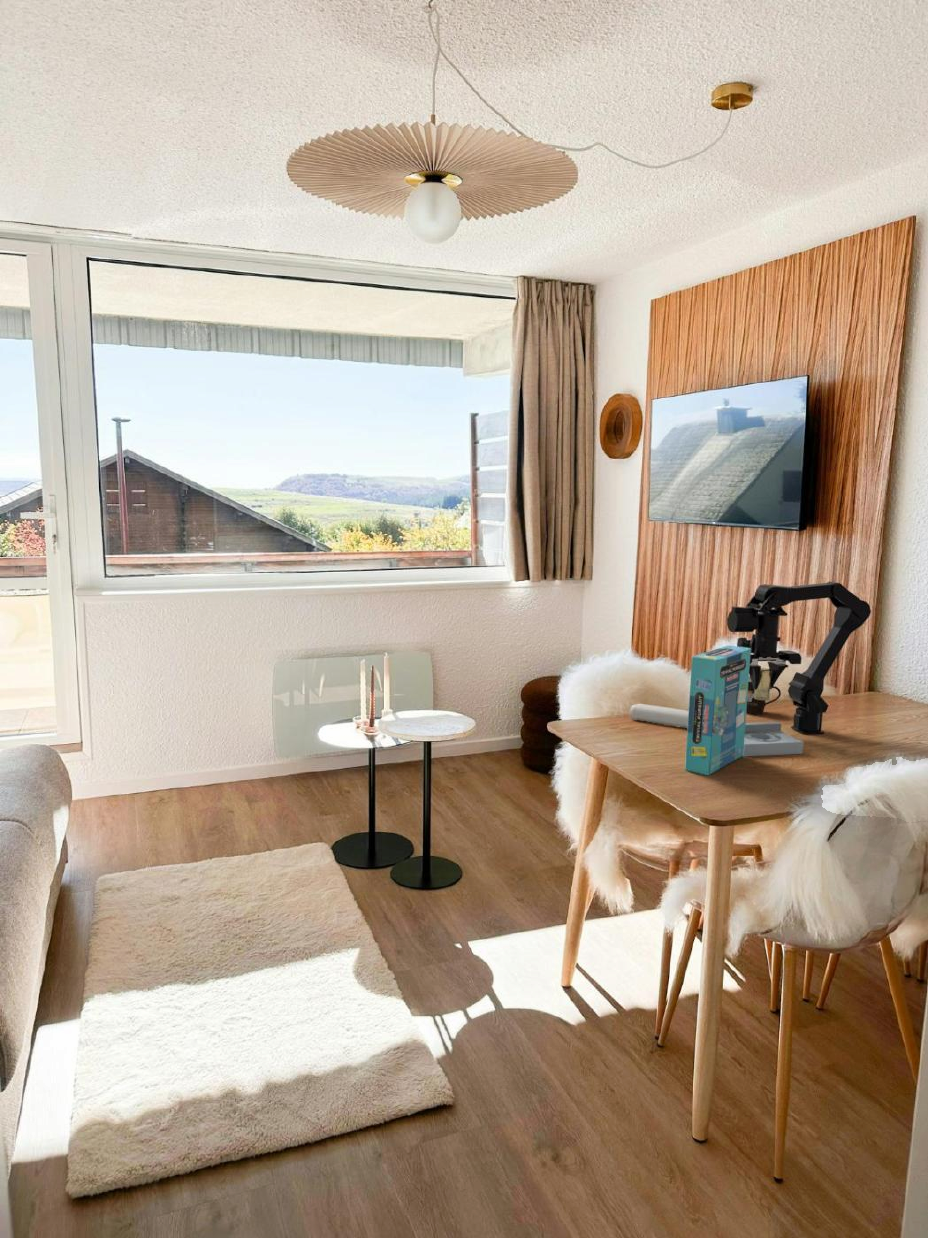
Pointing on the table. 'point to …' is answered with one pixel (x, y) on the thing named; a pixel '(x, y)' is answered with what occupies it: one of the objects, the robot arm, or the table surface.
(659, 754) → the table surface
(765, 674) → the brass cylinder
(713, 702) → the game box
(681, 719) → the tube
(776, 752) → the jig
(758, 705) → the coffee mug
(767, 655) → the robot arm
